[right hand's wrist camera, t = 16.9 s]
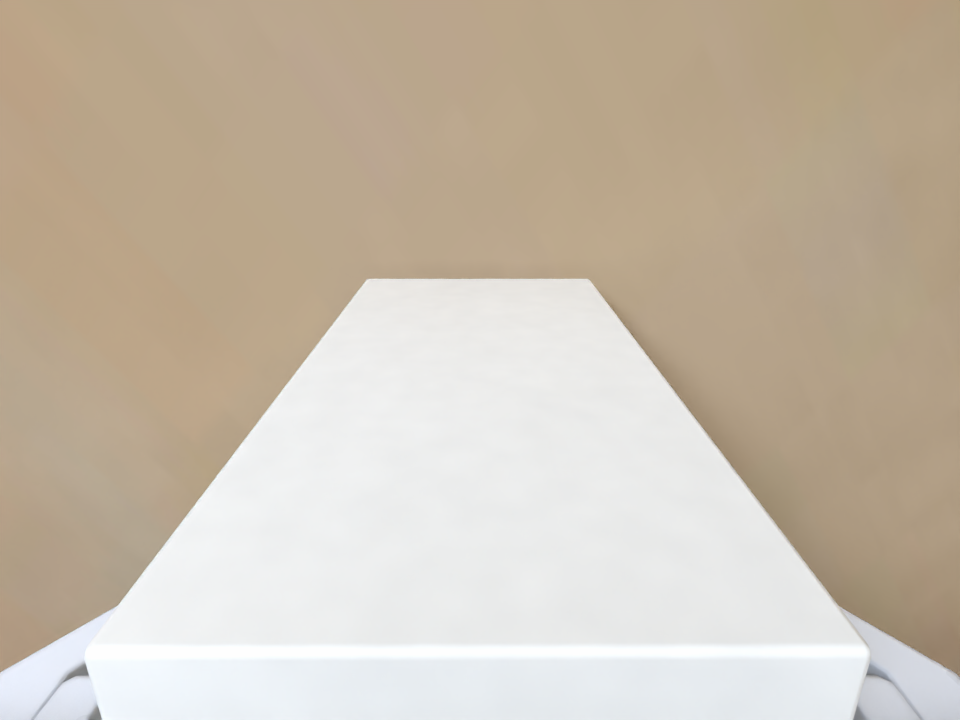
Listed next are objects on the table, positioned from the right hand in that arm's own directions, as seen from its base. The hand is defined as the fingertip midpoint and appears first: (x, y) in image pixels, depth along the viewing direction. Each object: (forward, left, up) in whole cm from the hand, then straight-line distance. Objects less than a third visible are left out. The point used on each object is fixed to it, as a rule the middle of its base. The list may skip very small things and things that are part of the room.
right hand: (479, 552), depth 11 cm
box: (+9, +1, -7) cm, 12 cm away
